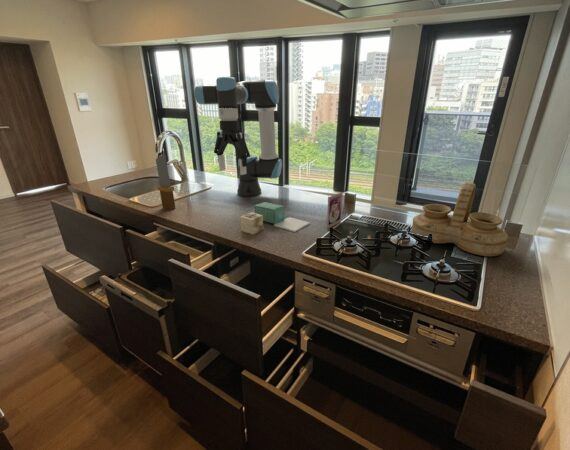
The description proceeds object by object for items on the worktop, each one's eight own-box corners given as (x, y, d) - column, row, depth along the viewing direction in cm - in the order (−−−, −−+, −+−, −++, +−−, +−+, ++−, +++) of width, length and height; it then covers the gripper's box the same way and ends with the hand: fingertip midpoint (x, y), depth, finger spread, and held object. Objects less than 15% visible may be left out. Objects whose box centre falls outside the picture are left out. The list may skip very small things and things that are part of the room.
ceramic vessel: (403, 238, 126) (413, 181, 116) (417, 225, 139) (427, 172, 129) (500, 264, 105) (521, 197, 96) (506, 246, 118) (525, 185, 109)
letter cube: (252, 226, 140) (251, 212, 137) (263, 229, 136) (262, 215, 133) (241, 230, 135) (240, 216, 132) (252, 234, 131) (251, 219, 128)
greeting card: (328, 229, 135) (330, 197, 129) (315, 225, 140) (316, 194, 134) (342, 222, 143) (344, 192, 137) (329, 218, 148) (330, 189, 142)
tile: (289, 218, 148) (289, 217, 148) (309, 224, 141) (309, 222, 141) (274, 226, 139) (274, 224, 139) (294, 232, 132) (294, 230, 132)
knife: (177, 208, 164) (168, 153, 152) (171, 210, 161) (162, 154, 149) (166, 206, 167) (157, 151, 156) (161, 208, 164) (151, 153, 153)
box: (275, 224, 139) (274, 209, 136) (255, 219, 147) (253, 205, 144) (285, 220, 144) (284, 205, 141) (265, 215, 152) (264, 201, 150)
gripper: (202, 119, 124) (207, 169, 132) (243, 121, 109) (246, 177, 117) (216, 118, 130) (220, 167, 138) (257, 120, 115) (259, 174, 123)
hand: (232, 172), depth 127 cm, fingers open, 13 cm apart
